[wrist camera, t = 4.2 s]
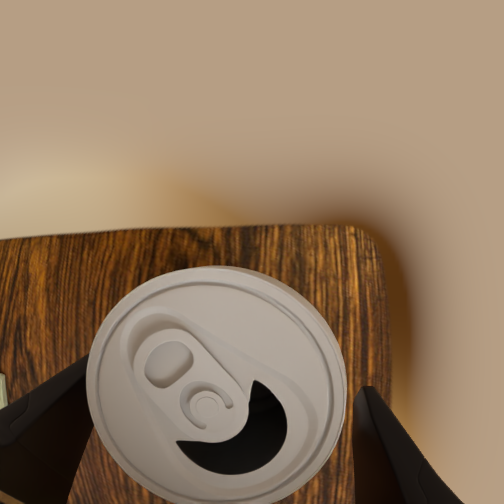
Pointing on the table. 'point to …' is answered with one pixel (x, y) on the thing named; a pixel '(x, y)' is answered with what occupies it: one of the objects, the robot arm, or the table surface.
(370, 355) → the table surface
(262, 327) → the beverage can
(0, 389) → the mat
